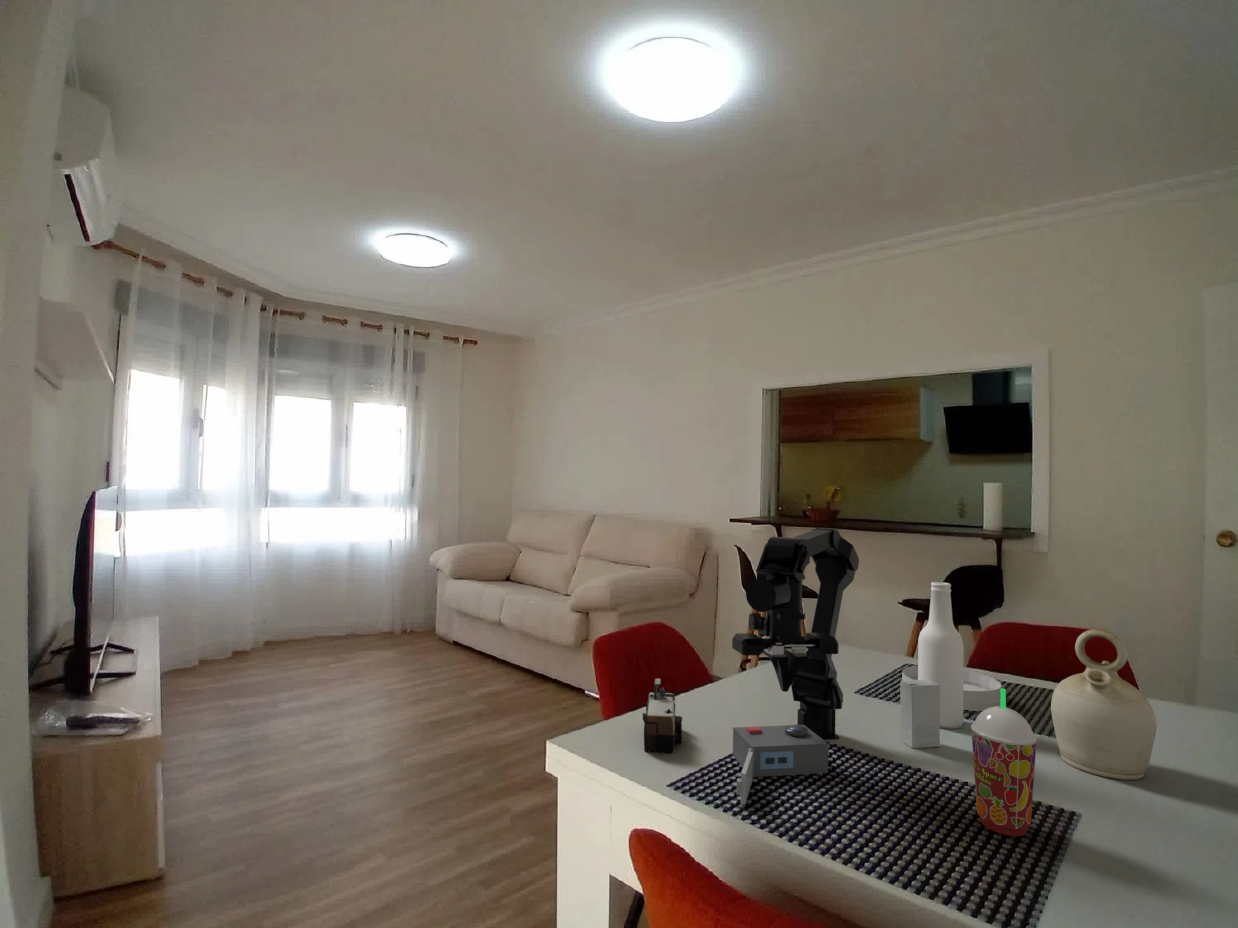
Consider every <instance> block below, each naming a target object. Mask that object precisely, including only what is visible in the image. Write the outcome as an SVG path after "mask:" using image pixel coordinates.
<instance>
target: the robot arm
mask: <svg viewBox="0 0 1238 928" xmlns="http://www.w3.org/2000/svg"><path fill="white" fill-rule="evenodd" d="M811 558H812V560H813V562H814V565H815V569H814V571H815V573H816V575H817V578H818V580H819V590H818V594H817V600H816V605H815V608H814V609H815V610H814V616H813V620H812V625H811V631H810V632H807V633H805V635H802V620H805V619H806V613H804V612H802V611H803V608H802V607H803V581H804V580H805V579H806V574H804V573H805V570H806V568H807V566H808V565H809V564H810V563H811ZM859 564H860V559H859V555H858V553H857V551H856V549H855V547H854V545H853V544H851V543H850V542H849V541H848V540H847V539H846V538H844V537H842V535H841V534H840V532H839V530H838V529H835V528H827V527H816V528H812V529H811V530H809V531H808V532H804V533H802V534H799V535H796V536H794V537H787V536H786V537H785V536H784V537H783V536H771V537H769V539H768V540H767V542H766V543H765V545H764V546H763V551H762V554H761V556H760V559H759V562H758V564H757V567H756V570H755V571H756V578H755V579H753V580H751V582H749V584H748V585H747V588H746V590H745V598H746V602H747V603H748V605H749V606H750V608H752V609H753V610H755V612H751V613H749V614H748V629H749V631H750V632H752V631H753V632H754V631H755V632H757V634H758V635H757V634H755V633H750V632H749V633H748V632H747V633H746V632H745V633H735V634H734V635H733V637H732V640H731V642H732V643H731V645H732V646H731V648H732V649H733V650H735V652H738V653H739V654H740V655H742V656H746V657H747V656H749V657H750V656H761V655H765V656H767V657H768V659H770V662H771V664H772V667H773V668H774V671H775V675H776V678H777V681H778V684H779V687H780V690H781V692H783V693H784V692H785V693H787V692H789V691H790V688H791V692H792V693H791V694H792V699H793V701H794V702H799V708H798V709H797V724H796V725H805V726H806V727H807V728H809V729H810V730H811V731H813V732H814V733H815V734H816V735H818V736H819V737H820V738H822V739H823V740H824V741H826V740H839V739H840V735H839V734H837V733H836V714H837V713H836V710H842V709H843V702H844V694H843V693H844V692H843V690H842V689H841V686H840V685H839V682H838V681H837V680H838V679H837V678H838V672H837V669H836V667H835V664H834V661H833V658H832V657H833V656H832V655H838V654H840V649H839V648H840V646H839V642H838V640H837V639H836V634H837V627H838V622H839V617H840V611H841V606H842V600H843V594H844V591H845V589H847V588H848V586H850V584H851V583H852V582H853V581H854V578H855V575H856V572H857V570H858V569H859ZM756 611H757V612H756ZM764 612H765V613H766V614H765V616H762V614H761V613H764ZM762 637H767V638H762Z"/></svg>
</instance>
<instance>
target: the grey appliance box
mask: <svg viewBox="0 0 1238 928" xmlns="http://www.w3.org/2000/svg"><path fill="white" fill-rule="evenodd" d="M749 748H752V749H754V778H756V777H758V778H760V777H777V776H778V777H779V776H796V775H816V774H829V743H828V742H827V741H826V740H823V739H822V738H820V737H819V736H818V735H816V734H815V733H814V732H813V731H811V730H810V729H809V728H807V727H806V726H805V725H797V724H789V725H788V724H787V725H765V726H764V725H763V726H739V727H737V726H736V727H732V756H733V757H734V759H736V761H737V762H738V764H740V766H741V767H743V766H744V763H745V761H746V758H747V755H748V749H749Z"/></svg>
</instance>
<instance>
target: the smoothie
mask: <svg viewBox="0 0 1238 928" xmlns="http://www.w3.org/2000/svg"><path fill="white" fill-rule="evenodd" d="M1006 693H1007V690H1006V688H1001V706H995V707H990V708H987V709H985V710H983V711H982V712H979V713H978V715H977V717H976V718H975V720H974V722H973V723H972V724H971V725H970V730H971V740H972V743H971V744H972V759H973V772H974V786H975V787H974V789H975V804H976V813H977V815H978V816H979V817H980V822H981V823H982V825H983V826H984V827H986V828H987V829H988V830H991V831H992V832H994V833H997V834H1000V835H1003V836H1007V837H1022V836H1025V834H1027V829H1029V828H1030V827H1031V826H1032V825H1031V824H1032V814H1033V813H1032V811H1033V800H1034V799H1033V796H1034V795H1033V794H1034V780H1035V767H1036V753H1037V750H1036V749H1037V741H1038V738H1037V736H1036V735H1035V734H1034V732H1033V729H1032V727H1031V725H1030V724H1029V722H1028V721H1027V720H1026V718H1024V716H1022V714H1020V713H1019V712H1017V711H1015V710H1014V709H1011V708H1010V707H1007V704H1006V703H1007V702H1006V701H1007V700H1006V699H1007V697H1006V696H1007V695H1006Z"/></svg>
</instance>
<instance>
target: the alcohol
mask: <svg viewBox="0 0 1238 928" xmlns="http://www.w3.org/2000/svg"><path fill="white" fill-rule="evenodd" d="M930 586H931V588H930V591H931V593H930V602H929V603H930V604H929V612H928V613H929V614H928V621H927V624H926V625H925V626H923V628H922V629H921V630H920V632H919V635H918V639H917V641H918V644H917V646H918V648H917V651H918V652H917V655H918V656H917V666H918V680H929V681H931V682H934V683H936V684H938V685H939V686H940V728H941V729H946V730H947V729H949V730H950V729H951V730H954V729H959V728H960V727H961V726H962V725H963V723H964V711H963V670H964V656H965V655H964V641H963V637H962V635H961V634H960V633H959V631H958V629H956V627H955V625H954V620H953V607H952V596H951V593H952V589H951V587H952V584H951V583H949V582H941V581H932V582H931V583H930Z"/></svg>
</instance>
